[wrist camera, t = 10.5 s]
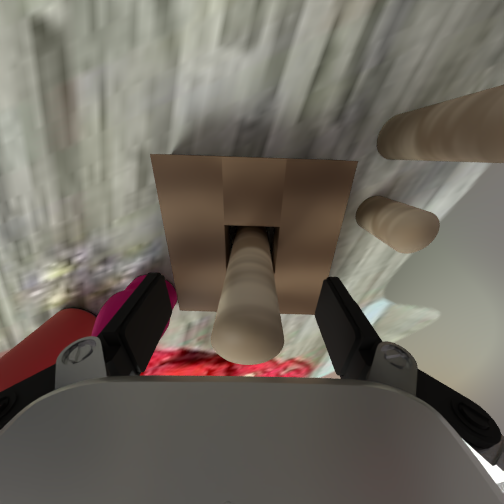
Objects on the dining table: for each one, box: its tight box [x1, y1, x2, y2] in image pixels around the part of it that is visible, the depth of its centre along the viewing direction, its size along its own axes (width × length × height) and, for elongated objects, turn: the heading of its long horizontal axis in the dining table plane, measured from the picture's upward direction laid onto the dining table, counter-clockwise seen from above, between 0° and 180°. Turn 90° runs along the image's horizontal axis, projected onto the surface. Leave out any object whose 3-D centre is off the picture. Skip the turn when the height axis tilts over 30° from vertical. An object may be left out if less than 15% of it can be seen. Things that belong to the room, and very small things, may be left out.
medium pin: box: [377, 85, 504, 163], centre depth 13 cm, size 4×4×9 cm
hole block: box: [150, 154, 358, 315], centre depth 20 cm, size 16×16×4 cm
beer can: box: [0, 308, 97, 392], centre depth 23 cm, size 7×7×12 cm
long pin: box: [211, 225, 284, 365], centre depth 16 cm, size 4×4×14 cm
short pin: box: [356, 196, 440, 253], centre depth 18 cm, size 4×4×6 cm
